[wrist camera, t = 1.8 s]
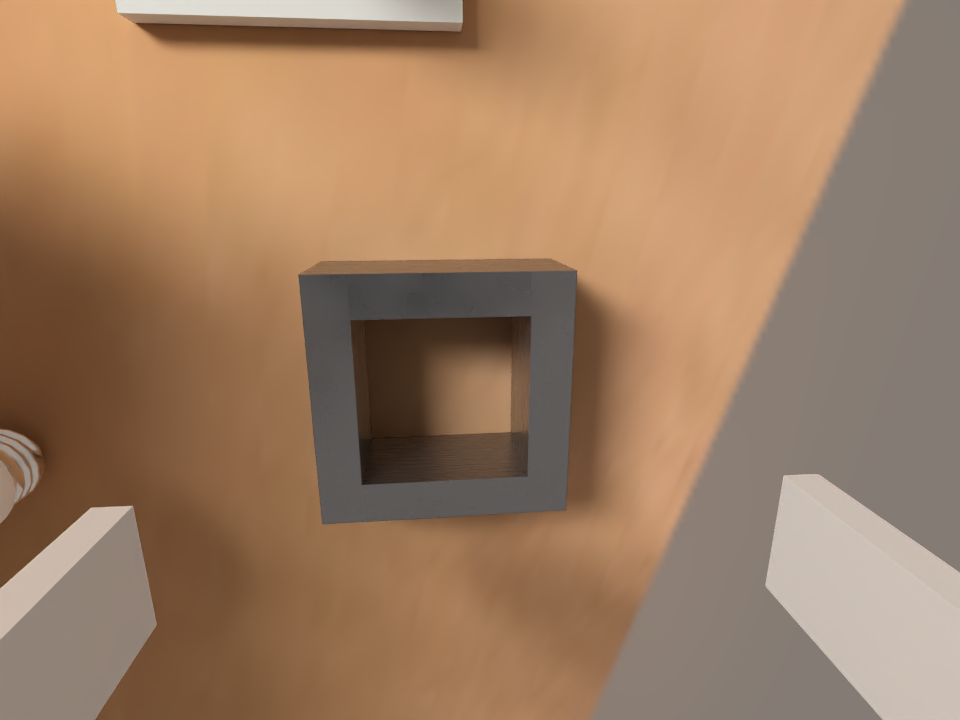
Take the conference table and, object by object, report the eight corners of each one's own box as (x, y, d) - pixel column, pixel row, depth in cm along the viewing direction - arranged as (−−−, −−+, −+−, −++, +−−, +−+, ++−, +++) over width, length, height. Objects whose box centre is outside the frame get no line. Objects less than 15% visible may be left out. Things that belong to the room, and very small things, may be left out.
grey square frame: (338, 471, 24) (322, 524, 20) (321, 261, 21) (298, 274, 17) (543, 461, 24) (566, 510, 21) (550, 258, 22) (577, 270, 18)
